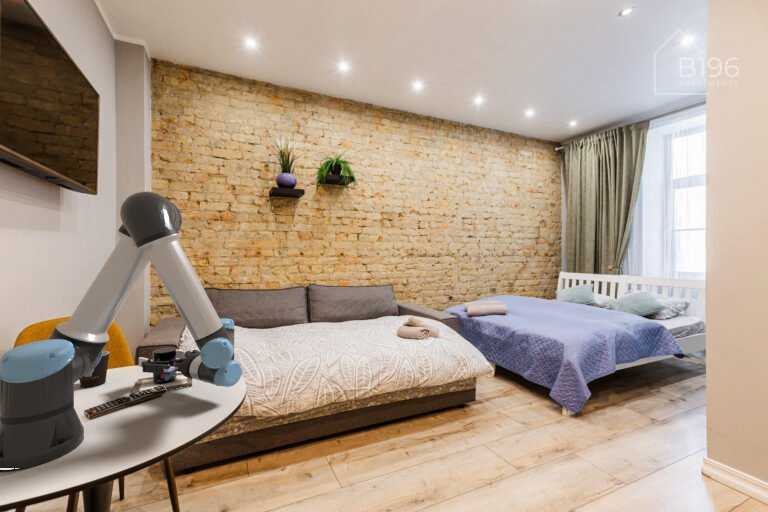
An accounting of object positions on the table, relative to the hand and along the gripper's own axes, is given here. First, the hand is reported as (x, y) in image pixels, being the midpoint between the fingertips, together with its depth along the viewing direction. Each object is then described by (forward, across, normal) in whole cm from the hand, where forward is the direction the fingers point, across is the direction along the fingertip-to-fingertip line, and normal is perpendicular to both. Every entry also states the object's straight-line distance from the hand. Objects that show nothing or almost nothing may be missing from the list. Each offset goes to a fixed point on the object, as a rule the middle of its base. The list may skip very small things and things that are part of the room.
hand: (157, 356), depth 117 cm
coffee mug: (+18, -12, -9) cm, 23 cm away
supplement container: (-4, 0, -8) cm, 9 cm away
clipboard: (-4, 0, -8) cm, 9 cm away
